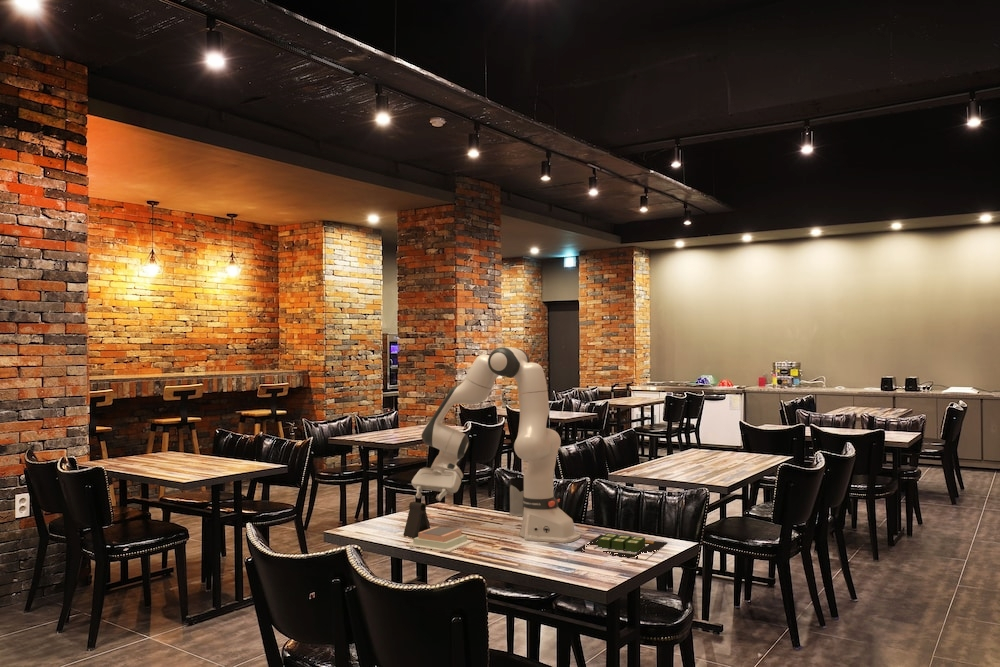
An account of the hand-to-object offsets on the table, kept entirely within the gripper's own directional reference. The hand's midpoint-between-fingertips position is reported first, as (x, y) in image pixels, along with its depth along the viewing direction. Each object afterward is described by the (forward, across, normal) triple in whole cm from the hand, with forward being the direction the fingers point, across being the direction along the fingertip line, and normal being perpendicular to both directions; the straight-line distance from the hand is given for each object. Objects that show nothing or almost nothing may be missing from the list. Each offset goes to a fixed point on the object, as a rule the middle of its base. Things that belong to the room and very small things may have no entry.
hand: (427, 498), depth 282 cm
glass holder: (-22, +18, +40) cm, 49 cm away
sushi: (0, +73, +18) cm, 75 cm away
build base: (+18, +15, -1) cm, 24 cm away
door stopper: (+14, 0, +4) cm, 14 cm away
